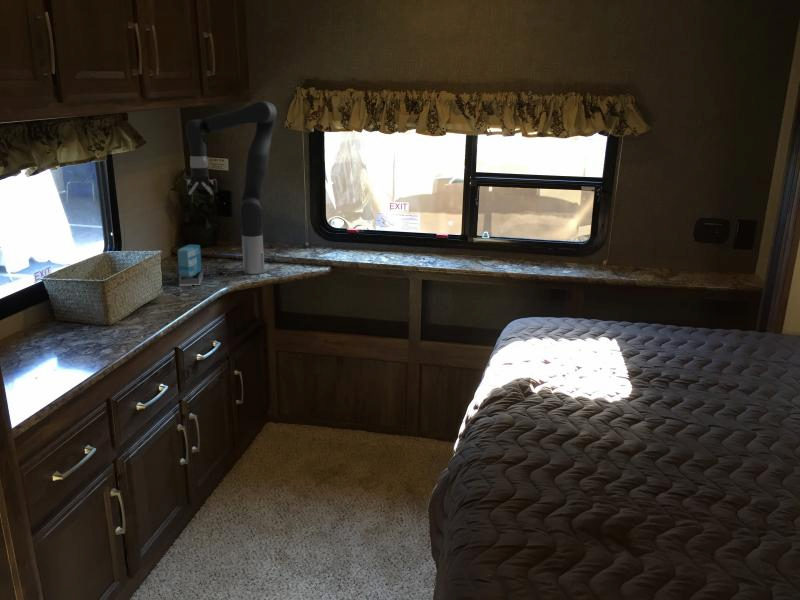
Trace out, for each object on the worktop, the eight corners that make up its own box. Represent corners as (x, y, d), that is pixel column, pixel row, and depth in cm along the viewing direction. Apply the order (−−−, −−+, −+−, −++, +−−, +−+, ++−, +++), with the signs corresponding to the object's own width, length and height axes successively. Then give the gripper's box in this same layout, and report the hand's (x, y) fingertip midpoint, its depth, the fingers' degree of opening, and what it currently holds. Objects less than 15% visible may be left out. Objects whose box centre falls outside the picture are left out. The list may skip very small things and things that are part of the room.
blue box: (189, 278, 287) (187, 250, 283) (179, 277, 288) (177, 249, 284) (202, 270, 298) (200, 244, 294) (192, 270, 299) (190, 243, 295)
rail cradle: (203, 275, 302) (202, 264, 301) (199, 285, 287) (198, 274, 286) (184, 275, 301) (183, 265, 299) (179, 286, 286) (178, 275, 284)
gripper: (216, 165, 306) (218, 201, 311) (183, 165, 303) (186, 201, 308) (215, 167, 299) (217, 203, 304) (181, 167, 296) (184, 204, 301)
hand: (201, 202), depth 306 cm, fingers open, 8 cm apart
